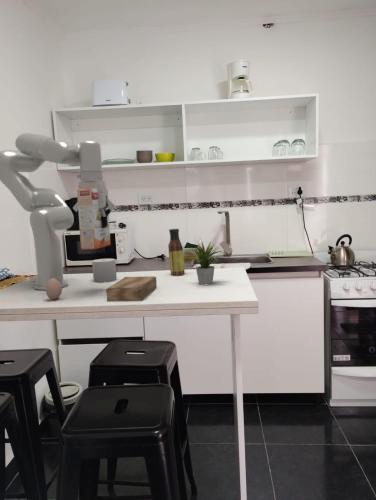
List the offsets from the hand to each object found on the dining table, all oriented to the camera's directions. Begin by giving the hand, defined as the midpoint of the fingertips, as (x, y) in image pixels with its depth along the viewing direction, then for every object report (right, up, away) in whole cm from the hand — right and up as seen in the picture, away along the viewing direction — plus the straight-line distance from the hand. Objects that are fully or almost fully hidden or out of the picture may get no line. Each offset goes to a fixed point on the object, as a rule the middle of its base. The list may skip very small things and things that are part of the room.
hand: (95, 227), depth 148 cm
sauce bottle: (+29, -19, +31) cm, 46 cm away
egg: (-13, -25, -6) cm, 29 cm away
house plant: (+40, -21, +8) cm, 46 cm away
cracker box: (0, -7, +1) cm, 7 cm away
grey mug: (-2, -21, +27) cm, 34 cm away
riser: (+14, -23, -3) cm, 27 cm away
